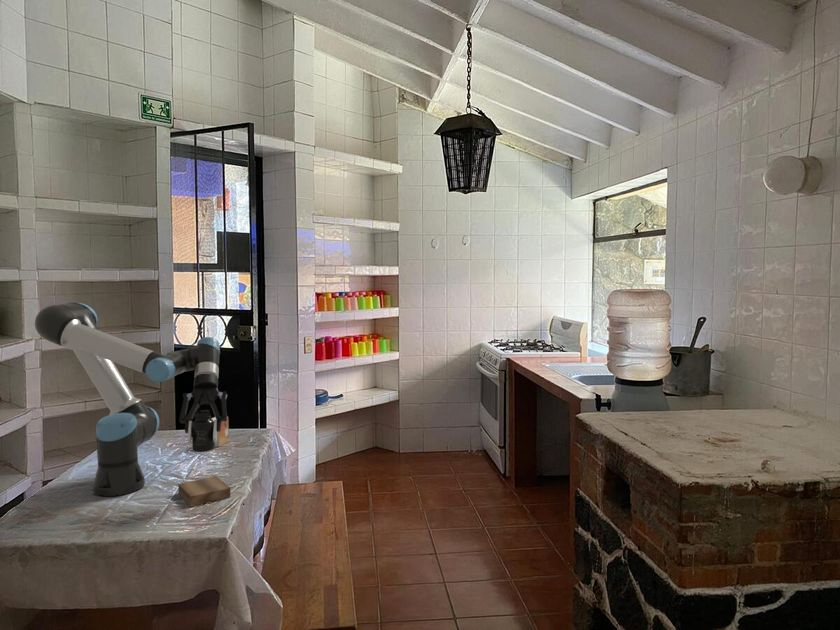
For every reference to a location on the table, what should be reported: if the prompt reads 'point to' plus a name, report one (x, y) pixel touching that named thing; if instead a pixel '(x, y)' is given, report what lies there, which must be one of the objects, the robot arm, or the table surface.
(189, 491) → the brown flat block
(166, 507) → the table surface
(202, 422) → the supplement bottle
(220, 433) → the small box
